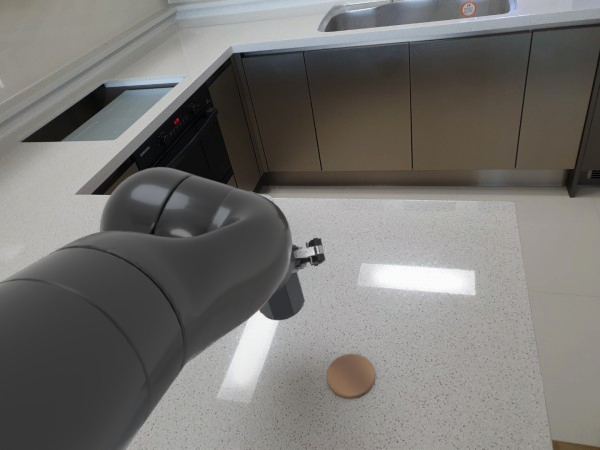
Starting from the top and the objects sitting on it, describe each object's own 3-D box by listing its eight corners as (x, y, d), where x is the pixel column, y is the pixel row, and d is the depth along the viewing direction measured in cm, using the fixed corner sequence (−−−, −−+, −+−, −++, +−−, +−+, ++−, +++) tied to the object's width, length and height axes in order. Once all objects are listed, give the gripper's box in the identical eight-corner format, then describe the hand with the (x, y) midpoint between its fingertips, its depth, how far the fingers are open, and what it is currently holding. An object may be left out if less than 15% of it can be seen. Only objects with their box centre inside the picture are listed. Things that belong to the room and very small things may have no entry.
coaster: (359, 406, 62) (359, 404, 61) (318, 384, 66) (317, 382, 65) (383, 368, 66) (383, 366, 65) (343, 349, 69) (343, 347, 69)
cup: (286, 326, 58) (270, 278, 53) (251, 310, 61) (233, 263, 56) (313, 295, 61) (301, 246, 56) (278, 281, 64) (264, 234, 59)
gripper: (181, 313, 43) (224, 306, 59) (334, 282, 42) (333, 283, 59) (169, 234, 44) (214, 249, 60) (317, 203, 43) (321, 226, 60)
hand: (273, 266), depth 59 cm, fingers closed on cup, 6 cm apart
